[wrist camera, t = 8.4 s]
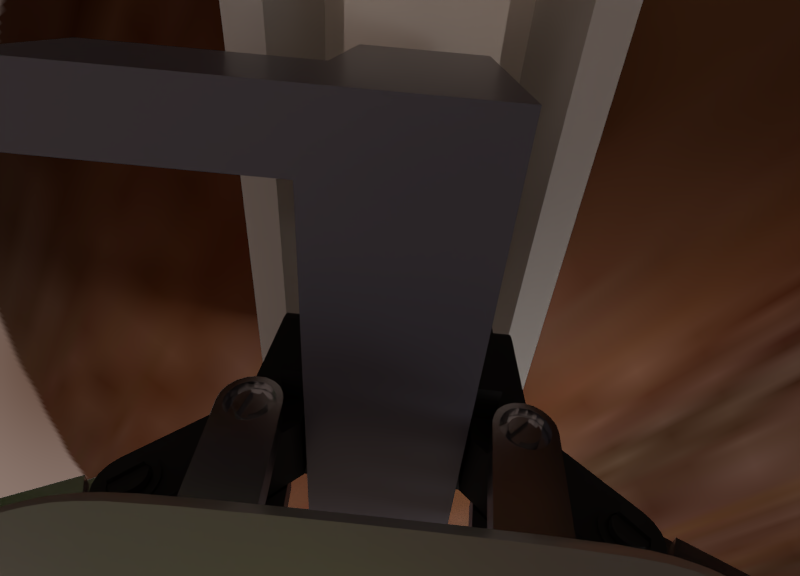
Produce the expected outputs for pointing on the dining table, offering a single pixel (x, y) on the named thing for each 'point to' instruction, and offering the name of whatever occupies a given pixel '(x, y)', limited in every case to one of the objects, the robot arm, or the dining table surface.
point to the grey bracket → (330, 220)
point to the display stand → (468, 34)
